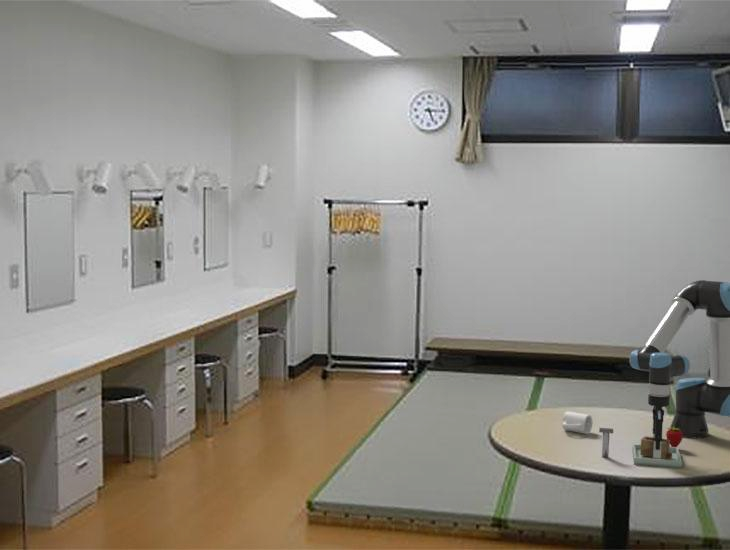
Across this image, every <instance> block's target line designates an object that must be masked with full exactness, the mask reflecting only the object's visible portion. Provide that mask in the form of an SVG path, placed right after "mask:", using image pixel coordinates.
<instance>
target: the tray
mask: <svg viewBox="0 0 730 550" xmlns="http://www.w3.org/2000/svg"><path fill="white" fill-rule="evenodd" d="M631 447H632V449H631V450H632V451H631V452H632V458H633V459H632V460H633V465H637V466H647V467H649V466H650V467H661V468H663V467H664V468H675V469H676V468H677V469H682V468H683V467H682V466H683V460H682V457H681V454H680V450H679V448H678V446H677V447H672V446H670V447H669V452H670V453H672V458H671V459H669V458H666V459H660V458H653V457H648V456H642V455H640V453H641V444H638V443H637V444H636V443H632V445H631Z"/></svg>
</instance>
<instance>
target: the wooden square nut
mask: <svg viewBox="0 0 730 550" xmlns="http://www.w3.org/2000/svg"><path fill="white" fill-rule="evenodd" d="M654 438H655V437H653V436H649V435H648V436H646V435H645V436H644V437H642V438H641V439H640V445H641V453H640V455H642V456H648V457H653V450H654V441H652V439H654ZM669 447H671V445H670V440H667V438H666V439H665V438H662V445H661V458H660V459H666V458H669V459H671V458H672V453H670V452H669Z"/></svg>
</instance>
